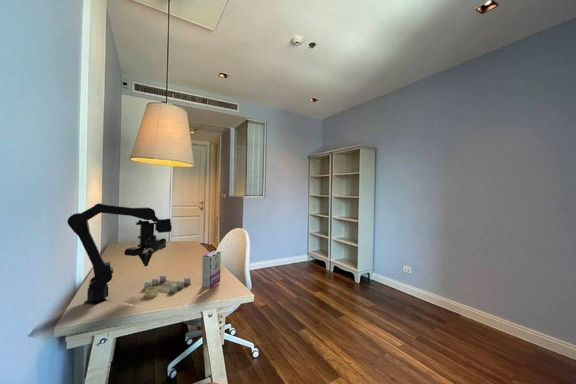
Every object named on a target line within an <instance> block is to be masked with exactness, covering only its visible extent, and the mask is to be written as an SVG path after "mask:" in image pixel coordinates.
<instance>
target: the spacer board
mask: <svg viewBox="0 0 576 384" xmlns="http://www.w3.org/2000/svg"><path fill="white" fill-rule="evenodd" d="M191 285H192V283H191V277H184V278H183V280H179V281H174V280H168V279H167V275H165V274H163V275H160V276H159V277H158V278H155V277H154V278H152V279H151V281H150V280H149V281H145V282H144V285H143V287H144V288H142V289H141V290H143V291H145V289H146V288H149V287H153V286H155V287H159V293H161V294H162V293H163V294H168V295H176V294H177V293H179V292H181V291H182V290H185V289H186V288H188V287H189V286H191Z"/></svg>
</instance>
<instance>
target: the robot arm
mask: <svg viewBox="0 0 576 384" xmlns="http://www.w3.org/2000/svg"><path fill="white" fill-rule="evenodd" d="M99 214H109V215H119V216H128V217H129V216H130V217H134V218H137V219H138V221H137V222H136V223H135V225H136V226H140V227H139V228H140V229H139V230H140V231H139V235H138V236H137V239H139V244H137V247H135V246H132V247H128V248H126V249H124V256H129V257H130V256H131V257H137V256H138V257H139V259H140V260H141V262H142V264H143V266H144V267H147V266H148V265H149V263H150V260H151V258H152V256H153V255H154V254H155V253H156V252H158V251H160V250H163V249H165V248H166V247H167V239H166V238H164V237H163V238H160V239H157V235H156V234H155V232H157V233H158V234H162V233H171V232H172V228H173V227H172V223H171V222H172V221H171V218H163V219H162V218H161V219H160V218H159V217H157V216H156V211H155V210H154V209H153V208H151V207H147V206H146V207H128V206H119V205H111V204H104V203H96V204H94V205H93V206H92V207H90V208H88V209H87V210H85V211H82V212H76V213H73V214H71V215H70V216H69V217H68V219H67V225H68V226H69V228H71V229H72V231H73V233H74V234H76V236H78V238H79V240H80V242H81V244H82V247H83V248H84V251H85V252H86V255H87V256H88V259H89V260H90V262H91V265H92V268H93V274H94V276H93V277H91V278H90V279H89V284H88V288H87V295H86V297H87V300H84V304H88V305H89V304H90V305H99V304H101V303H102V302H105V301H107V300H108V299H107V298H108V297H109V286H108V283H109V282H111V280H112V279H113V273H114V268H113V267H112V265H111V262H110V261H107V262H106V261H105V260H104V259H103V257H102V255H101V253H100V252H101V251H99V249H98V246H97V244H96V242H95V240H94V238H93V236H92V233H91V230H90V225H89V220H91V219H92V218H94V217H96V216H98V215H99ZM150 221H152V222H150Z"/></svg>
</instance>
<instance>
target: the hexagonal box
mask: <svg viewBox="0 0 576 384" xmlns="http://www.w3.org/2000/svg"><path fill="white" fill-rule="evenodd" d="M159 293H160V292H159V287H155V286H153V287H149V288H146V289H145V290H144V298H147V299H151V298H155V297H158V295H159Z"/></svg>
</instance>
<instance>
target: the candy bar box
mask: <svg viewBox="0 0 576 384" xmlns="http://www.w3.org/2000/svg"><path fill="white" fill-rule="evenodd" d="M221 255H222V251H221V250H220V251H219V250H212V251H210V252H207V253H206V254H204V255H202V263H201V265H202V267H201V271H202V274H201V275H202V276H201V279H202V280H201V281H202V282H201V287H203V288H208V289H212V288H213V287H214V286H216V285H217V284H218V283H219V282H220V281H221V262H222V261H221Z"/></svg>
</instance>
